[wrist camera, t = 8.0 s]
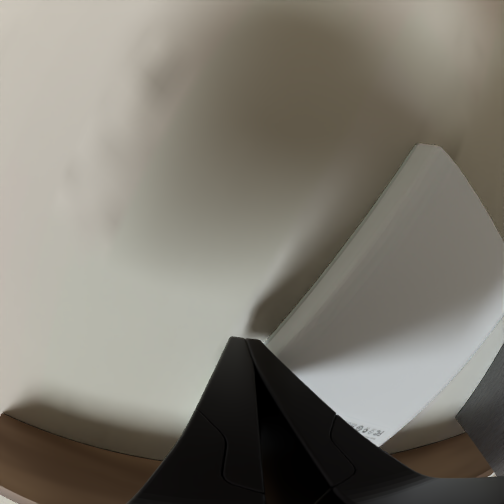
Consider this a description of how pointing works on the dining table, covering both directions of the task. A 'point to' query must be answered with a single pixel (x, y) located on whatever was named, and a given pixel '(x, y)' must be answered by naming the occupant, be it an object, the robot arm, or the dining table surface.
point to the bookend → (487, 415)
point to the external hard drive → (400, 300)
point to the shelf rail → (153, 466)
